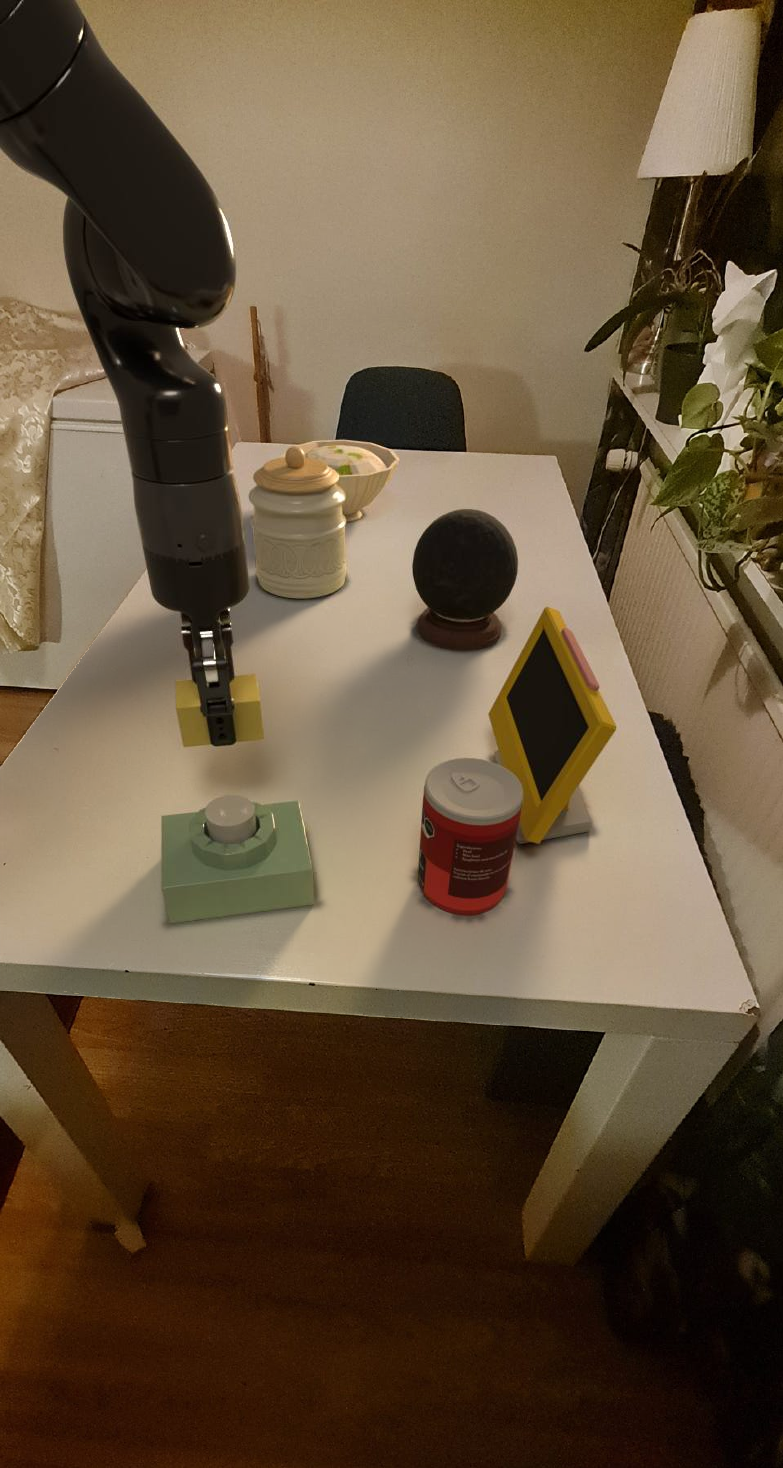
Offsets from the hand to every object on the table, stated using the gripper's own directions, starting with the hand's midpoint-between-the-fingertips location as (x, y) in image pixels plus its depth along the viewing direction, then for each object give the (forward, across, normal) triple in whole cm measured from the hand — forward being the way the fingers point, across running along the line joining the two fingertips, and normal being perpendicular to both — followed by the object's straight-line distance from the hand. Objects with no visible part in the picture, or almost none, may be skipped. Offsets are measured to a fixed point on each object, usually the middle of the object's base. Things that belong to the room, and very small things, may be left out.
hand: (222, 726), depth 69 cm
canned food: (+9, +15, +19) cm, 26 cm away
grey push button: (+3, +10, 0) cm, 11 cm away
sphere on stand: (+9, -31, +32) cm, 45 cm away
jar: (+9, -49, +13) cm, 51 cm away
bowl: (+9, -74, +23) cm, 78 cm away
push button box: (+9, +10, 0) cm, 14 cm away
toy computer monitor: (+9, +5, +30) cm, 31 cm away
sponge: (0, 0, 0) cm, 0 cm away
